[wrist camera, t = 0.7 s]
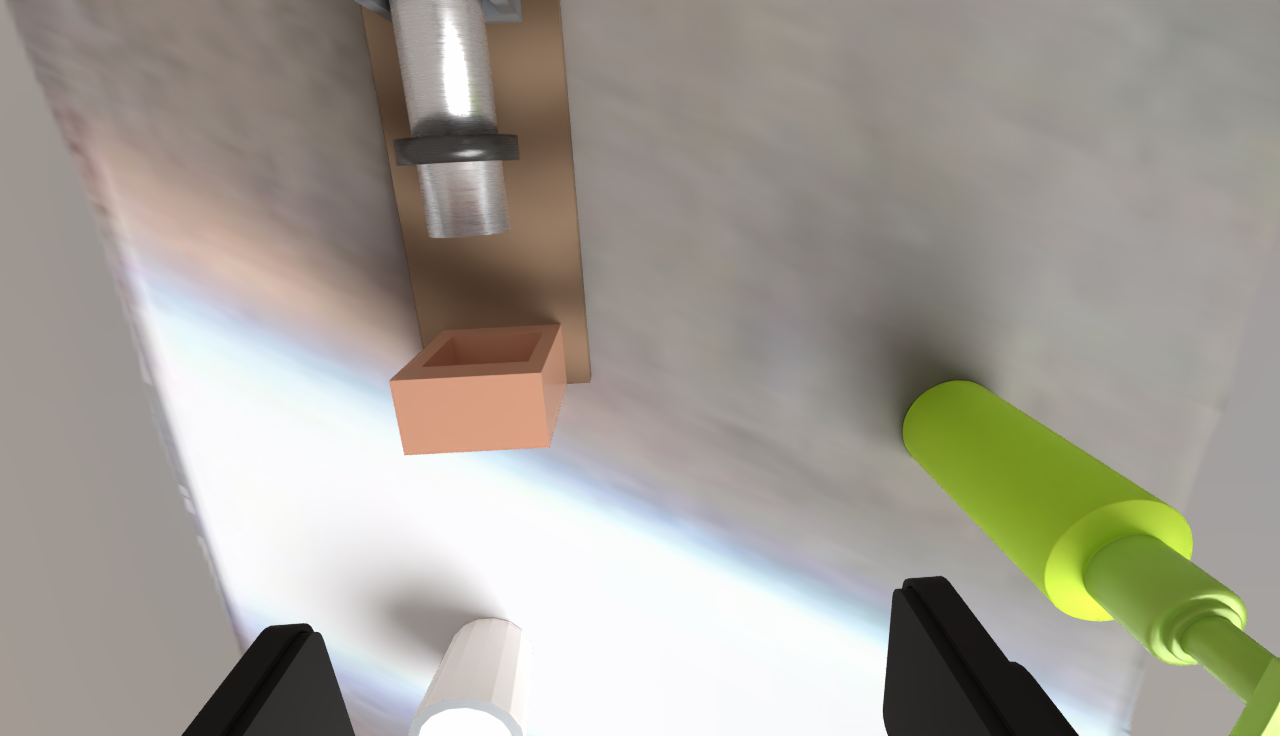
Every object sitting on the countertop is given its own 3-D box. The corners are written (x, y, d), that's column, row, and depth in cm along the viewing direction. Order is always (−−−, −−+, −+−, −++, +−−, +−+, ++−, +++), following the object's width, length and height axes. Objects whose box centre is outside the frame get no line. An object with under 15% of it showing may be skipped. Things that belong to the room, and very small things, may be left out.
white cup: (427, 665, 41) (388, 761, 35) (466, 595, 40) (433, 683, 33) (515, 700, 43) (495, 799, 36) (558, 634, 41) (544, 725, 34)
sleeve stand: (328, -230, 25) (204, -392, 18) (539, -241, 25) (503, -407, 18) (437, 383, 34) (385, 444, 27) (591, 375, 34) (581, 433, 27)
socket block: (444, 330, 32) (389, 381, 25) (561, 324, 32) (541, 372, 25) (453, 389, 33) (404, 455, 26) (566, 383, 33) (549, 447, 26)
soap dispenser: (885, 475, 37) (1151, 803, 18) (918, 373, 35) (1262, 626, 16) (974, 487, 37) (1324, 819, 19) (1012, 387, 35) (1457, 649, 16)
